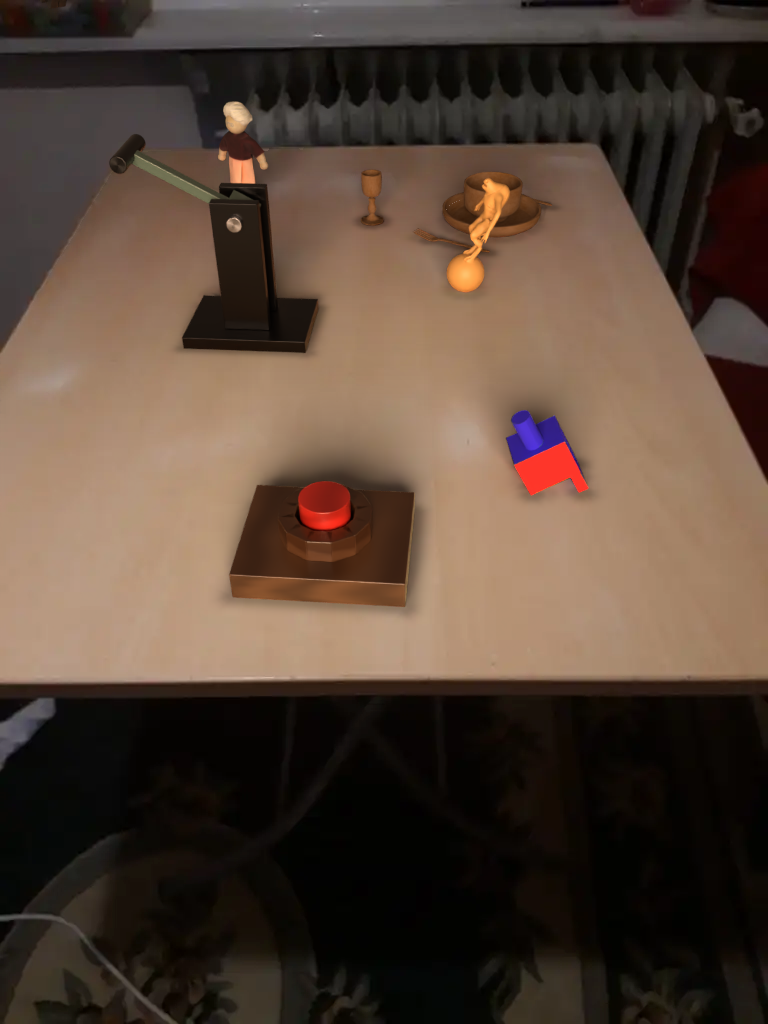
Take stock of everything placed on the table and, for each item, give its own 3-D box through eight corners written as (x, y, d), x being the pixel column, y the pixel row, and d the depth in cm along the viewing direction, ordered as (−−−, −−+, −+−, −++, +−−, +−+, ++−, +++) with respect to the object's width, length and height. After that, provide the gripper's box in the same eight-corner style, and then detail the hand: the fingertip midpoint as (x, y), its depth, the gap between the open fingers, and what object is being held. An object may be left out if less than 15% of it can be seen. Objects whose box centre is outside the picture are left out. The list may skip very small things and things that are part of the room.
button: (296, 531, 65) (294, 511, 64) (304, 498, 68) (302, 479, 67) (347, 533, 65) (347, 514, 64) (353, 501, 68) (352, 481, 67)
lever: (105, 172, 83) (113, 148, 82) (125, 149, 88) (133, 126, 86) (243, 243, 86) (253, 221, 85) (255, 217, 91) (265, 196, 89)
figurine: (443, 273, 104) (447, 163, 97) (498, 272, 104) (506, 163, 97) (448, 308, 98) (452, 194, 90) (506, 307, 98) (515, 193, 90)
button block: (232, 597, 66) (225, 554, 63) (259, 506, 73) (254, 465, 71) (405, 607, 65) (405, 564, 62) (414, 514, 72) (415, 472, 70)
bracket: (183, 348, 92) (160, 210, 83) (205, 305, 99) (186, 173, 90) (305, 353, 91) (295, 214, 82) (318, 309, 98) (310, 176, 89)
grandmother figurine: (211, 208, 119) (198, 102, 111) (227, 197, 122) (215, 93, 114) (265, 217, 117) (256, 110, 109) (280, 206, 120) (271, 100, 112)
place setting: (504, 259, 107) (508, 208, 103) (354, 224, 115) (352, 176, 111) (563, 206, 119) (568, 159, 115) (422, 178, 126) (423, 133, 123)
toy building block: (530, 482, 78) (491, 412, 73) (578, 461, 77) (541, 388, 72) (539, 510, 75) (499, 439, 70) (589, 488, 74) (551, 414, 69)
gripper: (-106, -210, 77) (-13, -18, 78) (49, -216, 83) (135, -37, 84) (-103, -137, 84) (-17, 40, 84) (41, -147, 90) (120, 18, 90)
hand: (59, 1), depth 84 cm, fingers closed
